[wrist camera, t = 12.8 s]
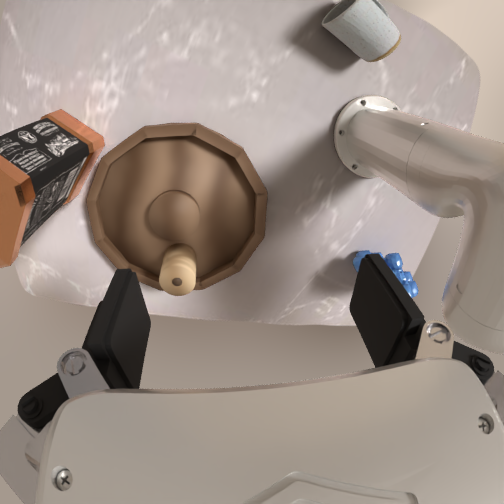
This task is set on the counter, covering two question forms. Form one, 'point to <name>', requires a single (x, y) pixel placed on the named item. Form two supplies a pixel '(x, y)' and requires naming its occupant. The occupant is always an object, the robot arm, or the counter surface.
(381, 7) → the ceramic mug
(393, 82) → the counter surface
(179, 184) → the ring tray
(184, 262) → the bead
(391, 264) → the blue bumpy flower shape
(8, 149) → the whiskey bottle
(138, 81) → the counter surface
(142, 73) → the counter surface
